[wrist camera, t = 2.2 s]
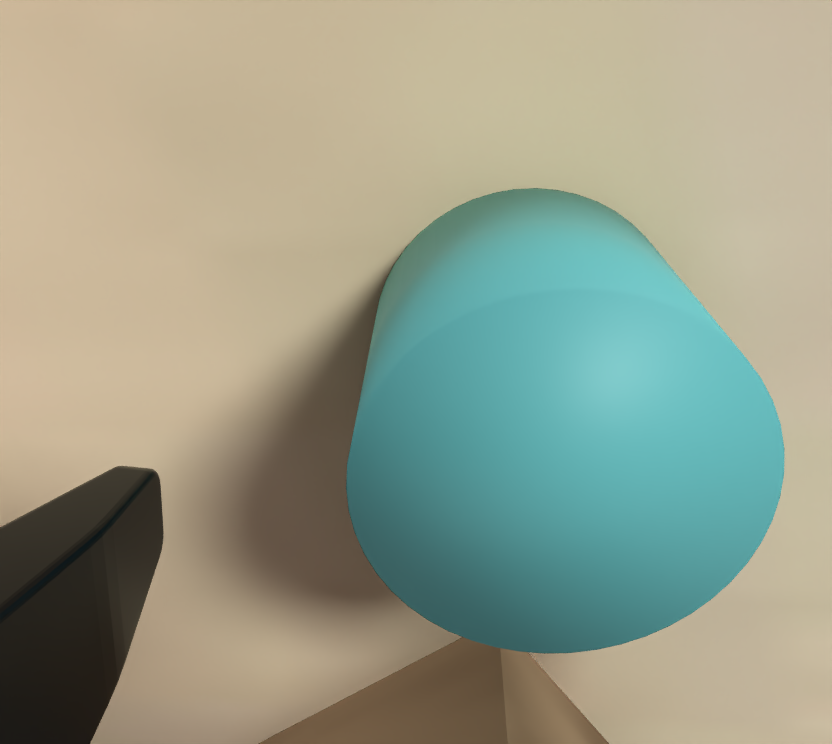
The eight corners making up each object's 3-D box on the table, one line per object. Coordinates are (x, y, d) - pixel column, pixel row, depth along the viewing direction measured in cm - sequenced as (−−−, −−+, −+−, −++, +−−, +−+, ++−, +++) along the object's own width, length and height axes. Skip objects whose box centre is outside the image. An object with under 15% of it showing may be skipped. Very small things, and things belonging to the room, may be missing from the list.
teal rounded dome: (708, 412, 14) (819, 590, 10) (439, 498, 15) (439, 693, 11) (630, 137, 12) (731, 215, 8) (325, 256, 13) (271, 383, 9)
